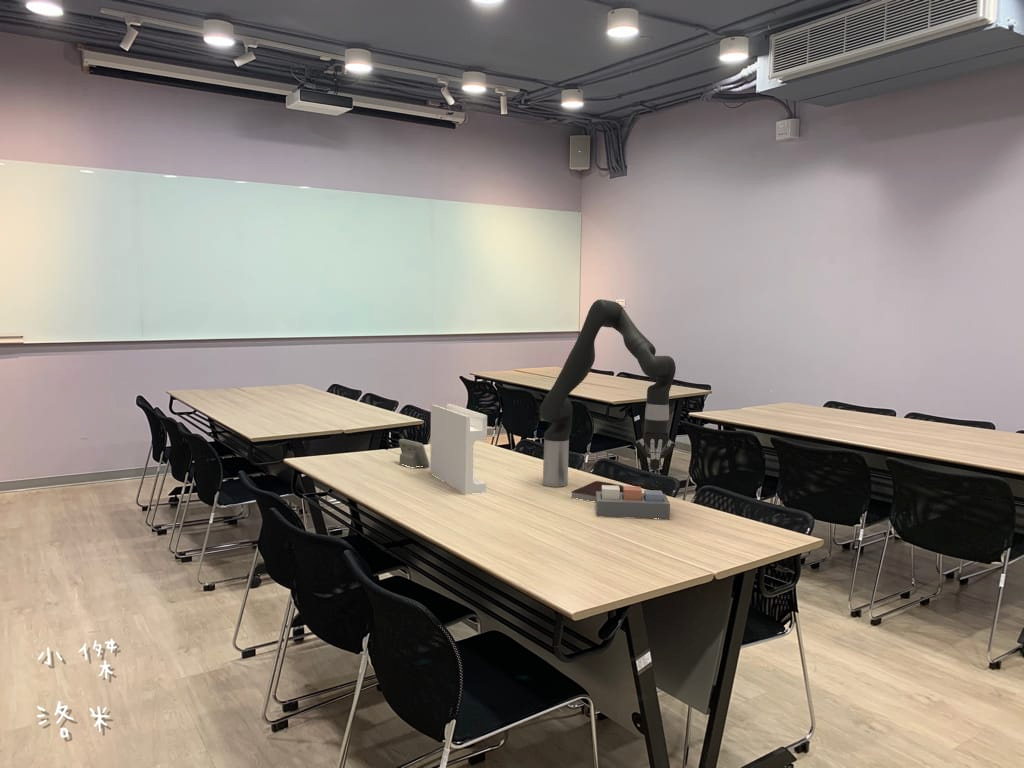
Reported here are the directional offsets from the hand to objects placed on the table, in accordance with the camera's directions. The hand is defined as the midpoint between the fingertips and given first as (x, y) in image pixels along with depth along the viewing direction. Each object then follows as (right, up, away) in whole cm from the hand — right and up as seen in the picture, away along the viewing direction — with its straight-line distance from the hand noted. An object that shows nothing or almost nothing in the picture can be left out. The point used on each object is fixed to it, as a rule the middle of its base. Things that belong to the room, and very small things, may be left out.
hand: (654, 470), depth 238 cm
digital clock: (-87, -6, +68) cm, 111 cm away
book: (-15, -13, +24) cm, 31 cm away
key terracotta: (-7, -10, +2) cm, 13 cm away
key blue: (0, -12, +1) cm, 12 cm away
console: (-7, -14, +2) cm, 16 cm away
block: (-67, -10, +38) cm, 78 cm away
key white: (-14, -10, +2) cm, 17 cm away
